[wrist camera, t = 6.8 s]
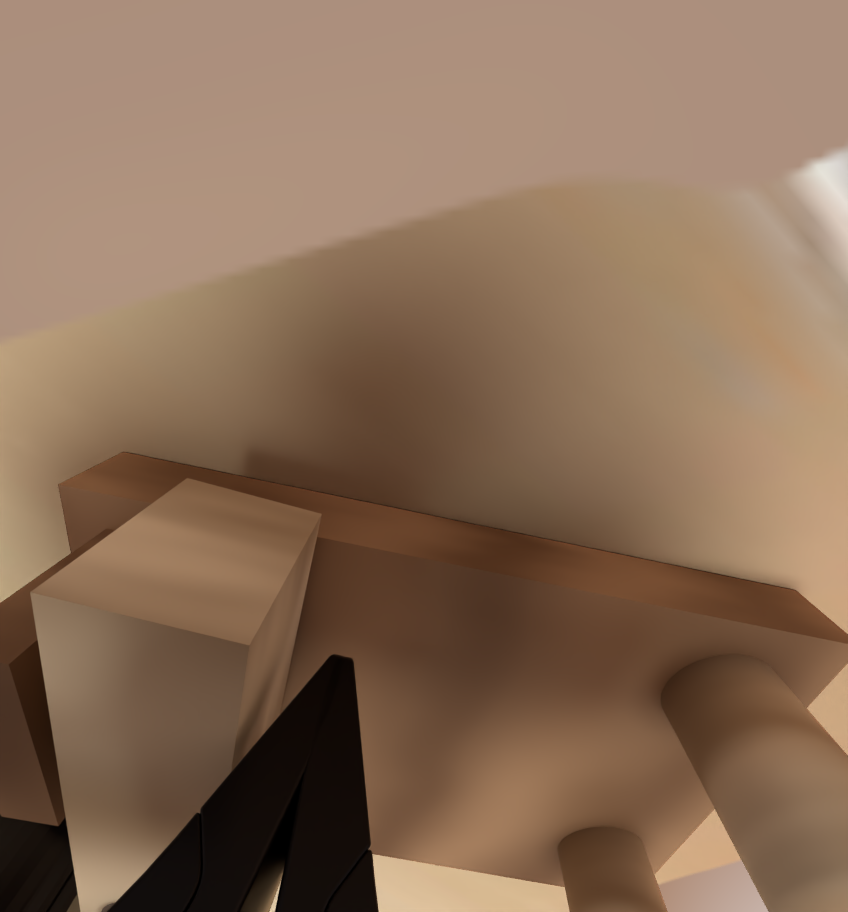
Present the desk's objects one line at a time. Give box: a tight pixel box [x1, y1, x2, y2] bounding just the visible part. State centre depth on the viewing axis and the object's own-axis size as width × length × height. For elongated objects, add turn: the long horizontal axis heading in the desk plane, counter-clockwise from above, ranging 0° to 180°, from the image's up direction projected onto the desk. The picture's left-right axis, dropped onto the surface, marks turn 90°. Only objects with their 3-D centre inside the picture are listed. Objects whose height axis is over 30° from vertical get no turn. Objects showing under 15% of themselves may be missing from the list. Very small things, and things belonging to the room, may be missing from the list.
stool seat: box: [0, 452, 848, 912], centre depth 11 cm, size 20×14×6 cm
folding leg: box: [30, 478, 322, 912], centre depth 9 cm, size 11×3×4 cm, turn 164°
